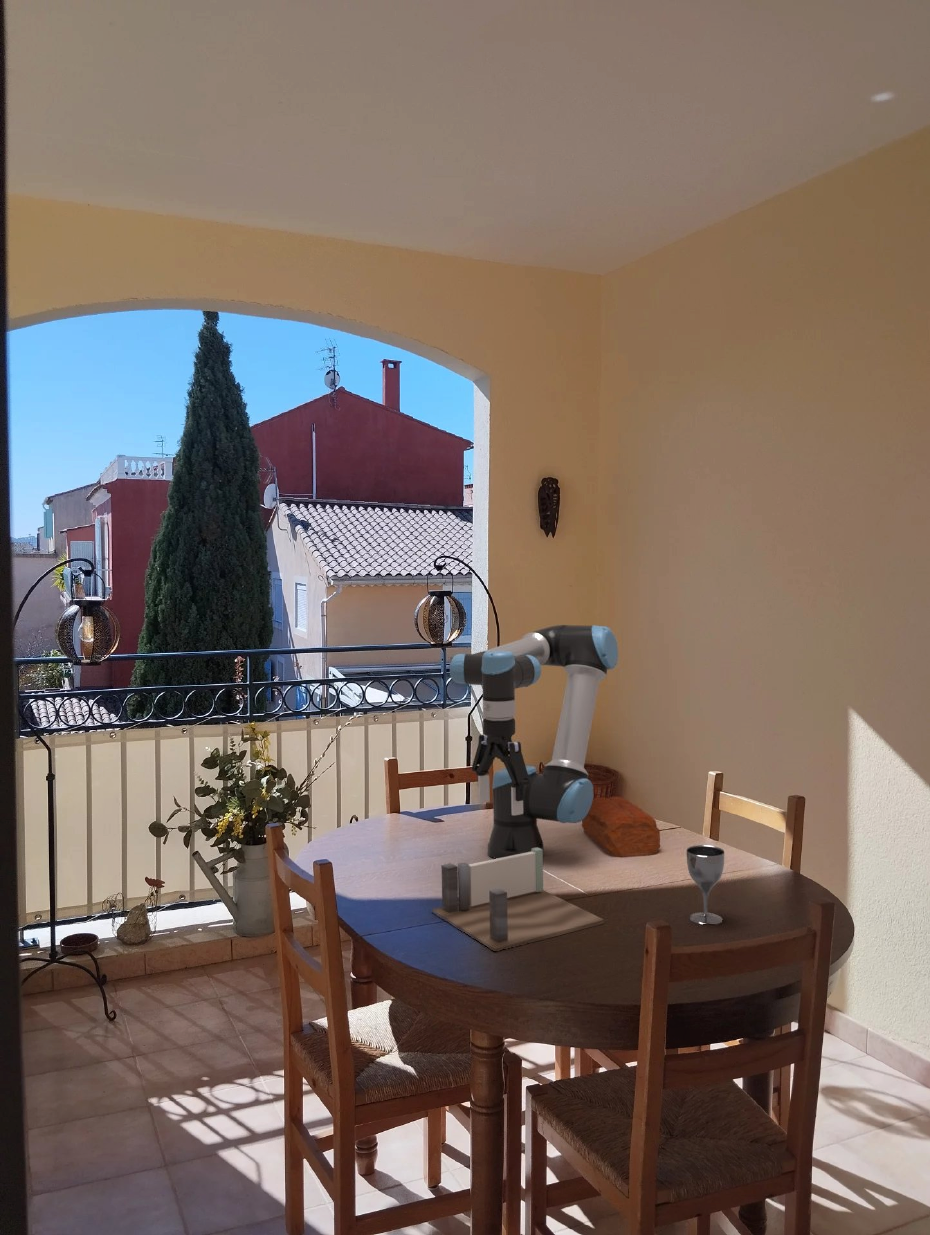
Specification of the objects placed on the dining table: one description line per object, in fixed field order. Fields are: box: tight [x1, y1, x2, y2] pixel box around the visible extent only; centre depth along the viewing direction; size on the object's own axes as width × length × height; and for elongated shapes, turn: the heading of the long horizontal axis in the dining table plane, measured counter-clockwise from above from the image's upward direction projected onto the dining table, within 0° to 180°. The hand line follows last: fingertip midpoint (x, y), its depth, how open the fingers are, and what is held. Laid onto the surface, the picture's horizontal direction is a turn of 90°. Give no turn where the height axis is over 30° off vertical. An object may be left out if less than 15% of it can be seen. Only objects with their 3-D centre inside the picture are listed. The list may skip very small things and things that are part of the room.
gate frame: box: [431, 862, 605, 952], centre depth 209 cm, size 26×28×11 cm
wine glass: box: [686, 844, 725, 925], centre depth 206 cm, size 8×8×15 cm
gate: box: [457, 847, 544, 911], centre depth 217 cm, size 22×2×10 cm, turn 121°
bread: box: [581, 796, 661, 858], centre depth 264 cm, size 16×27×11 cm, turn 10°
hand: (500, 808), depth 222 cm, fingers open, 13 cm apart
